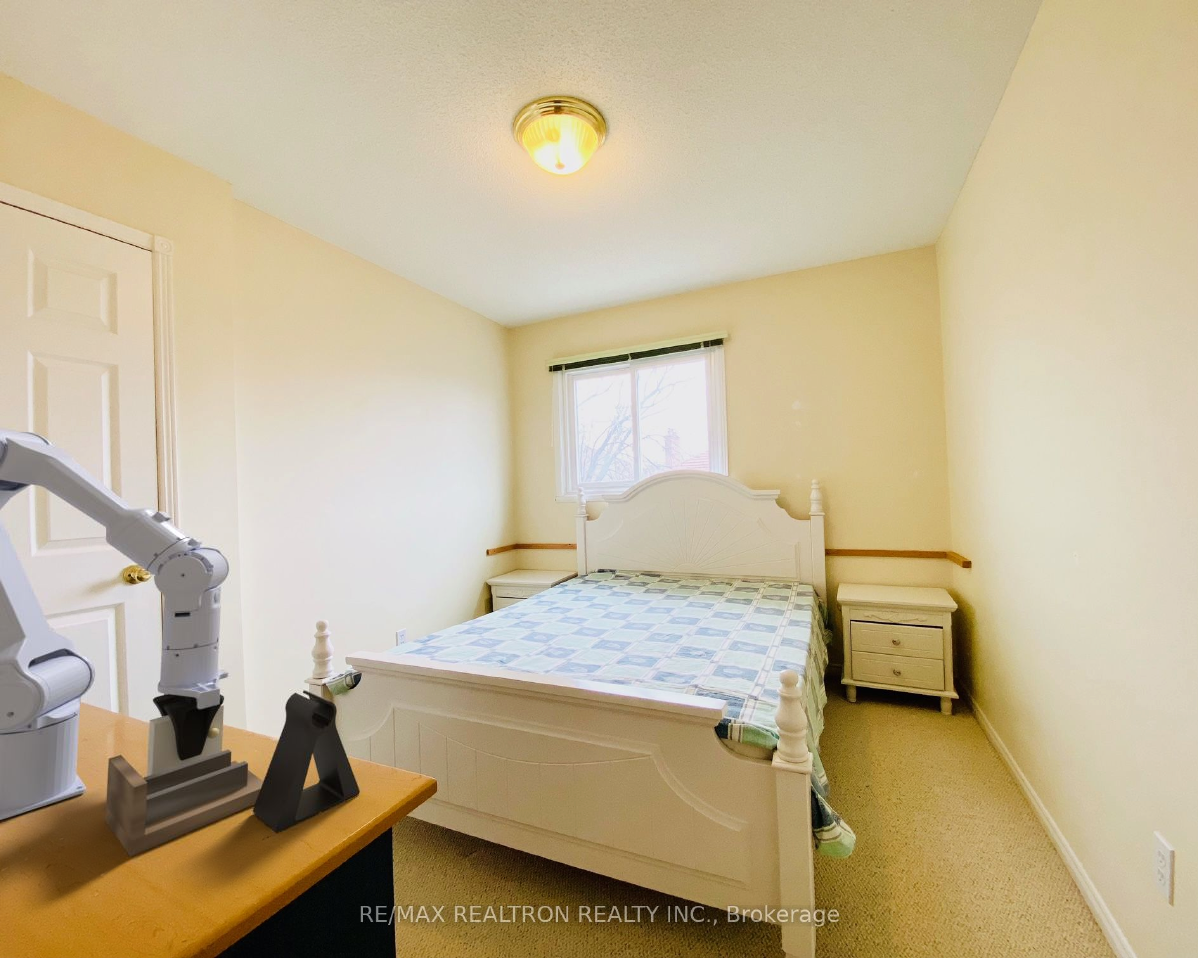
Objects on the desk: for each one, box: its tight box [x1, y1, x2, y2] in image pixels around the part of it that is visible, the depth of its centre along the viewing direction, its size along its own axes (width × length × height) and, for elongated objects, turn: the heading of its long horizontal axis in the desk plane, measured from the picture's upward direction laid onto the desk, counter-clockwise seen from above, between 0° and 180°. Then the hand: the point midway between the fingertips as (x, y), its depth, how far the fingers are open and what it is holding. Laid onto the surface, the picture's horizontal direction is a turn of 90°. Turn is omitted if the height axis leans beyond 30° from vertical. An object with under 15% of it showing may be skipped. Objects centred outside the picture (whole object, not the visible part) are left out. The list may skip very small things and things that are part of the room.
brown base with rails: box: [105, 749, 264, 858], centre depth 56 cm, size 10×12×6 cm
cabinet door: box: [146, 704, 225, 777], centre depth 63 cm, size 3×7×8 cm, turn 145°
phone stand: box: [252, 690, 361, 834], centre depth 58 cm, size 9×6×12 cm, turn 144°
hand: (186, 753), depth 63 cm, fingers open, 3 cm apart
